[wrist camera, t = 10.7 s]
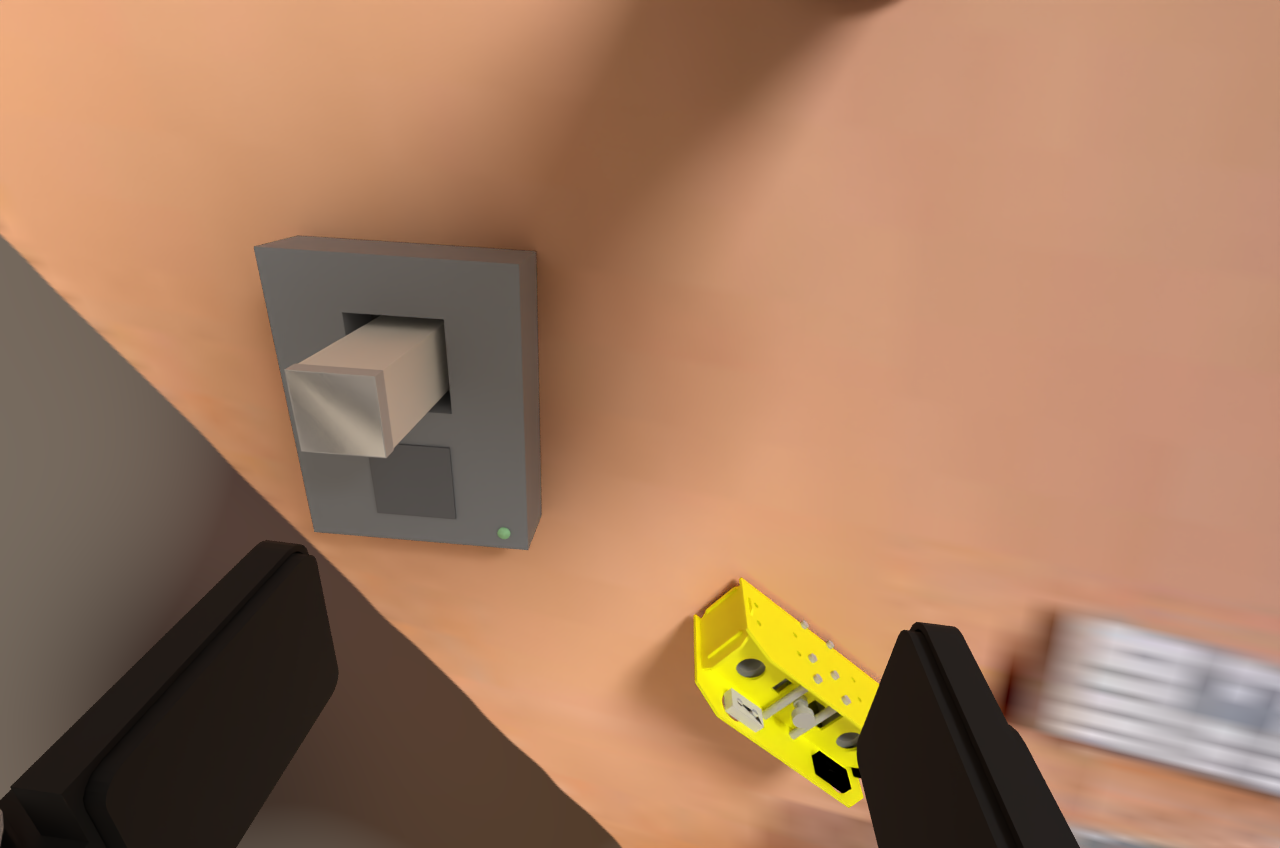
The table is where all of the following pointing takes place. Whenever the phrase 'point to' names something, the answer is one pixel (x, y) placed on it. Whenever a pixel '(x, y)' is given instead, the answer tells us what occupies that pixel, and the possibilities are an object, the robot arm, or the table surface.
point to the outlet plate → (459, 422)
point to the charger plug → (369, 386)
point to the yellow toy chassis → (783, 688)
